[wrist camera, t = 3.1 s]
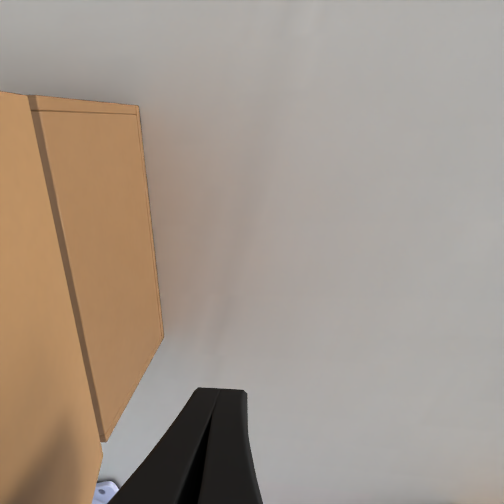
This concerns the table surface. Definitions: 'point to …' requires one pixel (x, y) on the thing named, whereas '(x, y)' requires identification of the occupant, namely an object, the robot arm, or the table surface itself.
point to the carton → (103, 241)
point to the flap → (38, 338)
